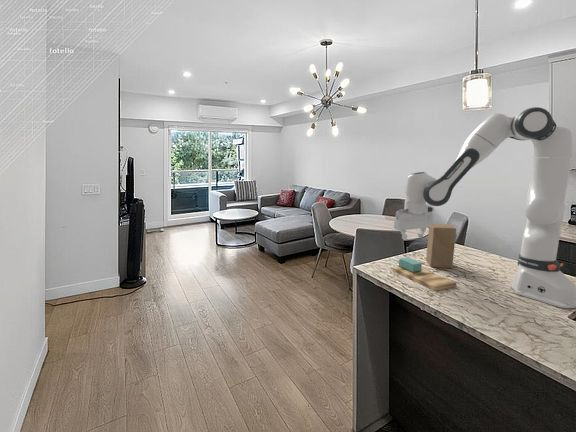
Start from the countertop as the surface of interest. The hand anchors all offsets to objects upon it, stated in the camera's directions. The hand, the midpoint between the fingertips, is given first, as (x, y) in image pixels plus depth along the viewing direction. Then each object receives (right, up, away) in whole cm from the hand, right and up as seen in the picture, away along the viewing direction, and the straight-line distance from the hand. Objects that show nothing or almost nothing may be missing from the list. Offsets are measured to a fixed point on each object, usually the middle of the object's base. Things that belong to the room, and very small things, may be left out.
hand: (412, 238), depth 143 cm
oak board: (+3, -18, -4) cm, 18 cm away
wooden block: (+19, -15, +14) cm, 27 cm away
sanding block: (0, -15, +3) cm, 15 cm away
